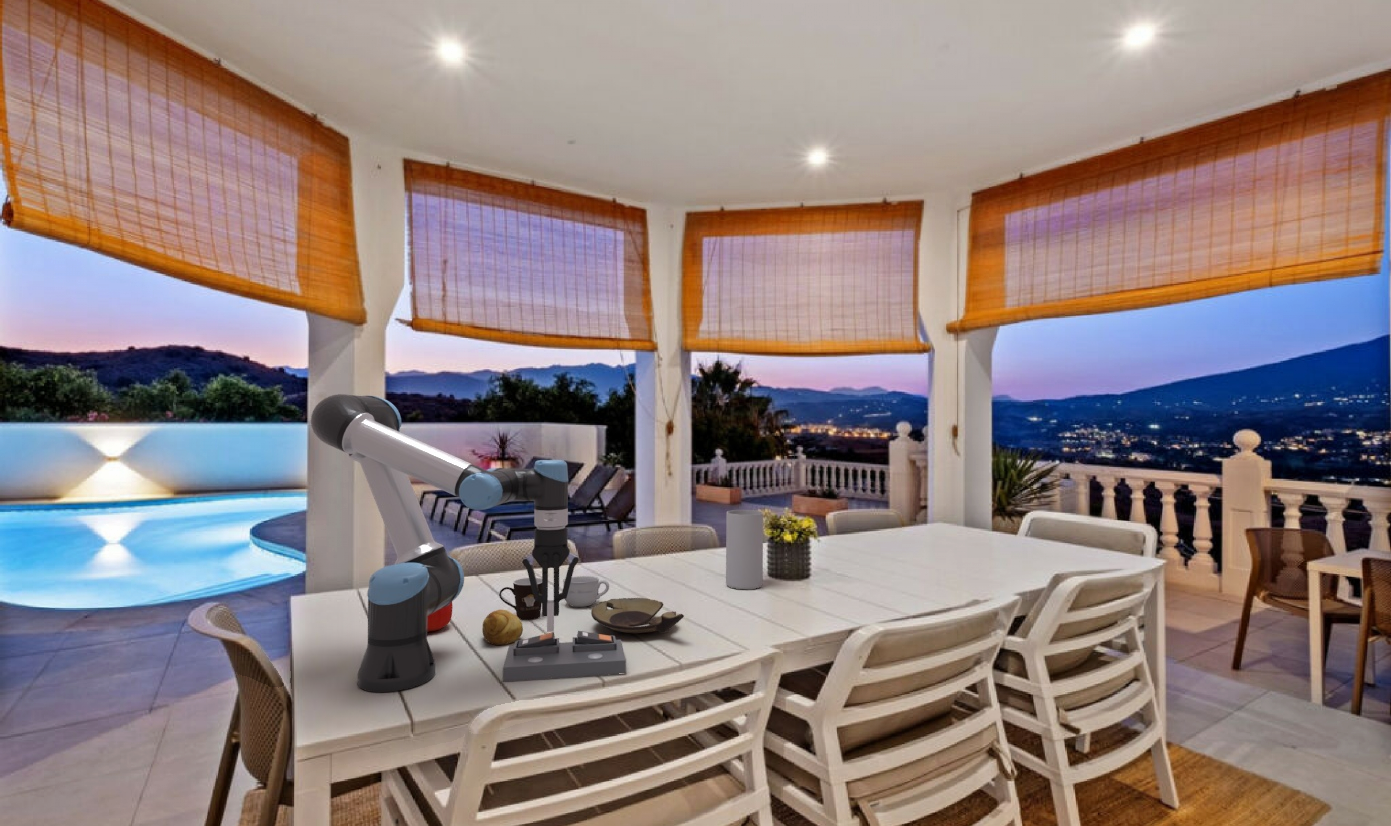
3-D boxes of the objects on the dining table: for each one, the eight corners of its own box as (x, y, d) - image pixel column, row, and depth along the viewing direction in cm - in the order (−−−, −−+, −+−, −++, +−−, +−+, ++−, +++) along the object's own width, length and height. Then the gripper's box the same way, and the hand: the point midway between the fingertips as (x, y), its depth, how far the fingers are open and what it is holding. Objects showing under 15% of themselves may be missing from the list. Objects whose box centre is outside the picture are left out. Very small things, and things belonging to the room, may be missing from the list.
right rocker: (577, 641, 149) (578, 636, 149) (577, 635, 153) (578, 630, 154) (611, 647, 151) (612, 641, 151) (610, 641, 155) (611, 635, 155)
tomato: (451, 619, 182) (451, 581, 182) (453, 634, 169) (453, 593, 170) (397, 625, 176) (398, 586, 176) (395, 640, 164) (396, 598, 164)
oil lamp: (654, 611, 192) (655, 585, 192) (698, 642, 165) (699, 612, 165) (580, 620, 182) (580, 593, 182) (614, 655, 155) (614, 623, 155)
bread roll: (479, 633, 170) (479, 602, 170) (517, 629, 174) (517, 599, 174) (484, 649, 158) (484, 616, 158) (525, 644, 162) (525, 612, 162)
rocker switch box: (502, 681, 138) (503, 660, 139) (508, 658, 152) (509, 639, 152) (625, 674, 143) (625, 653, 143) (620, 652, 157) (620, 633, 157)
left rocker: (518, 652, 147) (517, 646, 147) (520, 645, 151) (519, 640, 151) (554, 643, 148) (553, 637, 148) (554, 636, 153) (553, 631, 152)
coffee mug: (548, 613, 189) (548, 578, 189) (538, 621, 180) (538, 585, 180) (509, 611, 190) (509, 577, 190) (497, 620, 181) (497, 584, 182)
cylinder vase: (769, 587, 221) (770, 513, 221) (739, 592, 214) (739, 515, 215) (748, 579, 231) (749, 509, 232) (718, 583, 225) (719, 511, 226)
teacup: (556, 607, 194) (556, 580, 194) (573, 598, 205) (573, 572, 205) (599, 612, 190) (599, 584, 190) (614, 602, 201) (614, 576, 201)
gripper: (520, 530, 146) (520, 636, 145) (580, 528, 148) (579, 633, 148) (523, 525, 153) (522, 626, 153) (579, 523, 155) (579, 623, 155)
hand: (550, 629), depth 150 cm, fingers closed
